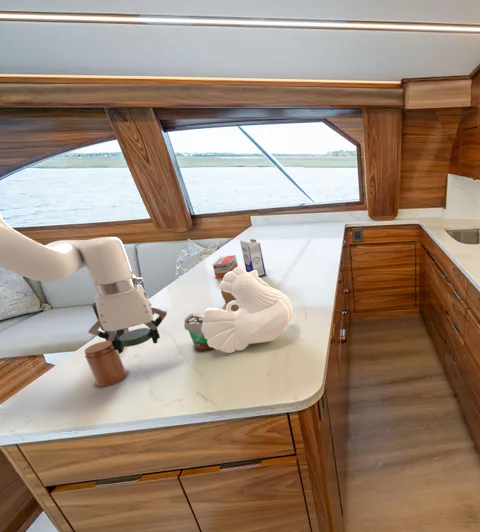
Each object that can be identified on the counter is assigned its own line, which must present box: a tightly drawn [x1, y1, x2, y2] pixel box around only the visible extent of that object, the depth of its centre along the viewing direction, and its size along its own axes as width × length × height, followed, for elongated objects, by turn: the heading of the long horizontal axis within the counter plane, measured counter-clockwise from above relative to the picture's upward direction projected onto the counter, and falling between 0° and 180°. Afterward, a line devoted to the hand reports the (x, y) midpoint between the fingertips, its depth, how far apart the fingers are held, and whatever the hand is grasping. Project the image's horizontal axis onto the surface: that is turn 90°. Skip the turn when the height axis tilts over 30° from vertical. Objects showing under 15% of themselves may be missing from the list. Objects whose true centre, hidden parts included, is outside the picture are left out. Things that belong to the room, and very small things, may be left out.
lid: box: [118, 327, 152, 348], centre depth 80 cm, size 7×7×2 cm
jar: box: [84, 340, 127, 388], centre depth 80 cm, size 6×6×10 cm
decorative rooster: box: [201, 266, 294, 354], centre depth 95 cm, size 25×16×25 cm
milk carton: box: [239, 238, 267, 278], centre depth 154 cm, size 7×7×20 cm
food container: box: [183, 313, 215, 352], centre depth 94 cm, size 12×6×10 cm, turn 73°
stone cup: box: [220, 278, 239, 311], centre depth 117 cm, size 15×12×15 cm
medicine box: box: [211, 254, 239, 279], centre depth 162 cm, size 15×8×8 cm, turn 16°
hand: (139, 345), depth 81 cm, fingers closed on lid, 6 cm apart
